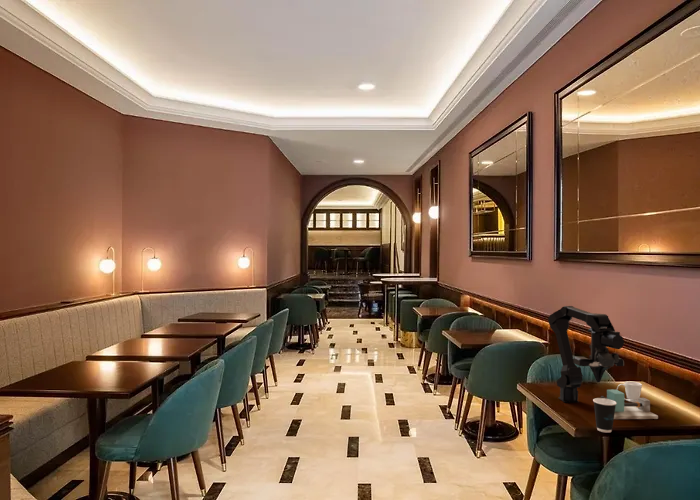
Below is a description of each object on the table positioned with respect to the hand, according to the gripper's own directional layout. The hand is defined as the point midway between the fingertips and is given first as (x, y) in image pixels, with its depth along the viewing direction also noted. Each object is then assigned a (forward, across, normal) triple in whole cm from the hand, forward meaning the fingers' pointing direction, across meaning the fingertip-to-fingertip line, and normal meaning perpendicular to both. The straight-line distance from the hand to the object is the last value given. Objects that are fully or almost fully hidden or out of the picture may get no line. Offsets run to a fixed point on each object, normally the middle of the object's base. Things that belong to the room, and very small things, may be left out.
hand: (598, 382), depth 208 cm
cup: (+13, +24, +17) cm, 32 cm away
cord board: (+13, +12, 0) cm, 18 cm away
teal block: (+11, +8, 0) cm, 14 cm away
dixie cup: (+13, -8, -19) cm, 24 cm away
